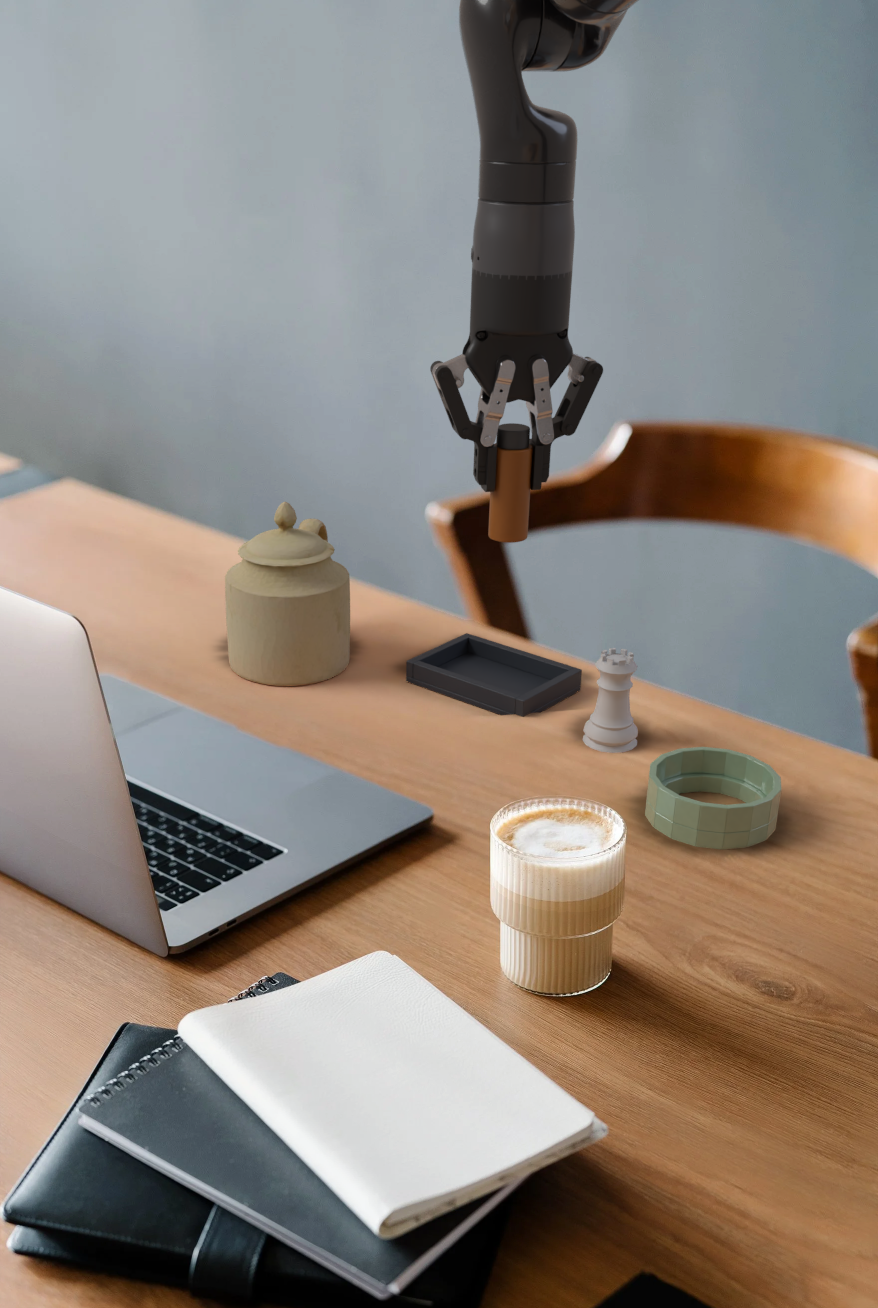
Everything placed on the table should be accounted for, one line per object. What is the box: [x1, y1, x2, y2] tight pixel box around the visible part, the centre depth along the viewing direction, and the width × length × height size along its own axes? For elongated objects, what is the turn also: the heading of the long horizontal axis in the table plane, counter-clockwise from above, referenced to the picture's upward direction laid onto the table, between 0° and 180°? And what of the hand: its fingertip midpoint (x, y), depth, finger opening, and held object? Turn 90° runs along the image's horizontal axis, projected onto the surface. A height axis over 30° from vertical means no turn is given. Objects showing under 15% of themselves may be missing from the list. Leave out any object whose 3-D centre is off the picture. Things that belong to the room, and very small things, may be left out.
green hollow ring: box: [644, 746, 783, 851], centre depth 98 cm, size 9×9×4 cm
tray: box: [405, 632, 583, 718], centre depth 121 cm, size 13×9×2 cm
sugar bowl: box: [224, 501, 351, 687], centre depth 124 cm, size 15×11×15 cm
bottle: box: [487, 422, 533, 544], centre depth 112 cm, size 3×3×9 cm
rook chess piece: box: [582, 647, 639, 754], centre depth 109 cm, size 4×4×8 cm
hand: (510, 487), depth 112 cm, fingers closed on bottle, 3 cm apart
